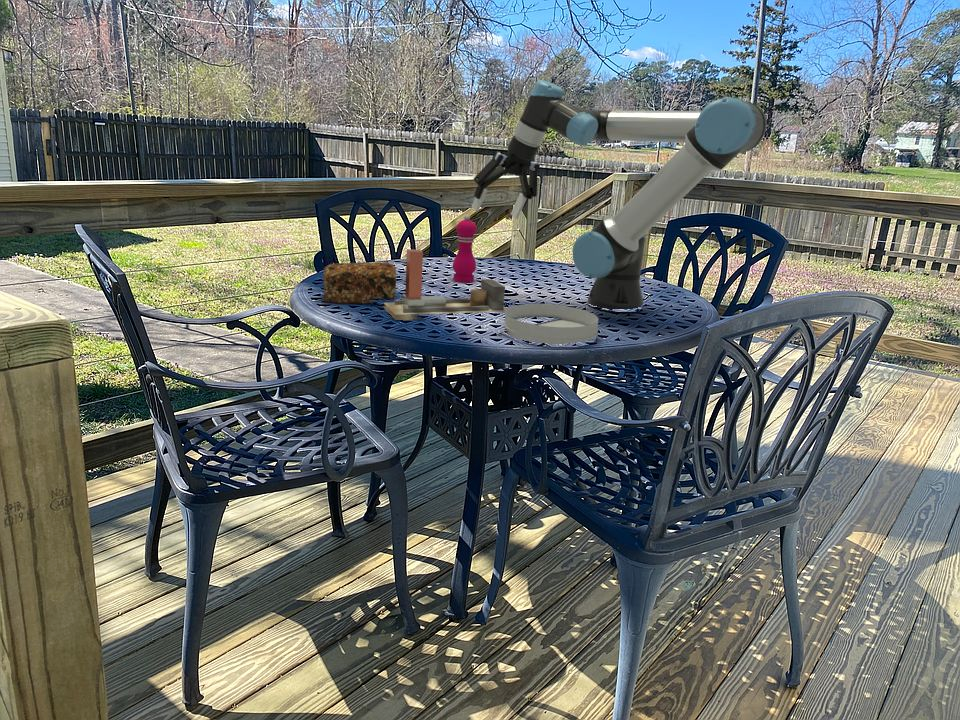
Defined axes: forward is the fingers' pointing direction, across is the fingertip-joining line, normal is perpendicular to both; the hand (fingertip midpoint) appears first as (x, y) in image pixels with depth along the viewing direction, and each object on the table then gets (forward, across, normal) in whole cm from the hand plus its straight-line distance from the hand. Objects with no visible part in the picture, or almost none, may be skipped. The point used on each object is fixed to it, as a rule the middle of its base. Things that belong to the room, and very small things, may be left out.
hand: (494, 213), depth 203 cm
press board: (+20, +19, +23) cm, 35 cm away
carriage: (+19, +25, +21) cm, 38 cm away
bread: (+29, +33, +5) cm, 44 cm away
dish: (+9, +6, +47) cm, 48 cm away
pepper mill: (+27, -7, -9) cm, 30 cm away
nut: (+16, +11, +24) cm, 31 cm away
